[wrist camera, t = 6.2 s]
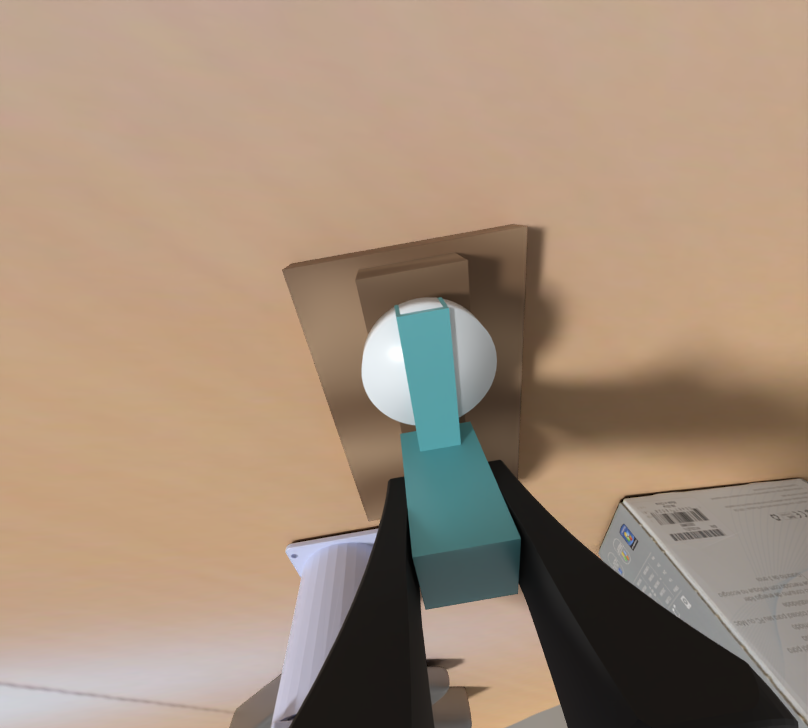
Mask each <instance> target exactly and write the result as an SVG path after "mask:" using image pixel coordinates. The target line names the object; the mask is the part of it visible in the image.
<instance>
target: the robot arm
mask: <svg viewBox="0 0 808 728" xmlns="http://www.w3.org/2000/svg"><path fill="white" fill-rule="evenodd" d="M488 464H489V466H490V468H491V471H492V473H493V475H494V477H495V480H496V482H497V484H498V487H499V489H500V491H501V494H502V496H503V498H504V501H505V503H506V505H507V508H508V510H509V512H510V514H511V517H512V519H513V521H514V524H515V526H516V528H517V531H518V533H519V535H520V538H521V546H520V565H519V585H520V587H521V589H522V592H523V594H524V597H525V599H526V602H527V604H528V607H529V610H530V613H531V616H532V619H533V622H534V625H535V628H536V631H537V634H538V637H539V640H540V643H541V646H542V649H543V652H544V655H545V658H546V661H547V664H548V667H549V670H550V673H551V676H552V679H553V682H554V685H555V688H556V692H557V695H558V698H559V701H560V704H561V707H562V710H563V713H564V716H565V720H566V723H567V726H568V728H799V726H798V721H797V720H796V718H795V717H794V716H793V715H792V714H791V712H790V711H789V710H788V709H787V707H786V706H785V705H784V704H783V703H782V701H781V700H780V699H779V698H778V696H777V695H776V694H775V693H774V692H773V691H772V689H771V688H770V687H769V686H768V685H767V684H766V683H765V682H764V680H763V679H762V678H761V677H760V676H759V675H758V674H757V673H756V672H755V671H754V670H753V669H752V668H751V667H750V665H749V664H748V663H747V662H745V661H744V660H742V659H741V658H739V657H738V656H736V655H735V654H733V653H731V652H730V651H728V650H727V649H725V648H724V647H722V646H721V645H719V644H717V643H716V642H714V641H713V640H711V639H710V638H708V637H707V636H705V635H704V634H702V633H701V632H699V631H698V630H696V629H695V628H693V627H692V626H690V625H689V624H687V623H686V622H684V621H683V620H681V619H680V618H679V617H677V616H676V615H674V614H673V613H671V612H670V611H668V610H667V609H666V608H664V607H663V606H661V605H660V604H658V603H657V602H656V601H654V600H653V599H652V598H650V597H649V596H648V595H646V594H645V593H644V592H642V591H641V590H640V589H638V588H637V587H636V586H634V585H633V584H632V583H630V582H629V581H628V580H626V579H625V578H623V577H622V576H621V575H620V574H618V573H617V572H616V571H614V570H613V569H612V568H611V567H610V566H608V565H607V564H606V563H605V562H603V561H602V560H601V559H600V558H598V557H597V556H596V555H595V554H594V553H592V552H591V551H590V550H589V549H588V548H587V547H585V546H584V545H583V544H582V543H581V542H580V541H579V540H577V539H576V538H575V537H574V536H573V535H572V534H571V533H570V532H569V531H568V530H567V529H565V528H564V527H563V526H562V525H561V524H560V523H559V522H558V521H557V520H556V519H555V518H554V517H553V516H552V515H551V514H550V513H549V512H548V511H547V510H546V509H545V508H544V507H543V506H542V505H541V504H540V503H539V502H538V501H537V500H536V499H535V498H534V497H533V496H532V495H531V494H530V492H529V491H528V490H527V489H526V488H525V487H524V486H523V485H522V484H521V483H520V481H519V480H518V479H517V478H516V477H515V476H514V474H513V473H512V472H511V471H510V470H509V468H508V467H507V466H506V465H505V463H504V462H503V461H502V460H495V461H489V462H488ZM286 554H287V556H288V557H289V559H290V560H291V562H292V564H293V565H294V567H295V569H296V570H297V572H298V574H299V575H300V577H301V582H300V587H299V592H298V597H297V602H296V607H295V612H294V617H293V621H292V626H291V631H290V636H289V641H288V646H287V651H286V655H285V660H284V665H283V670H282V675H281V680H280V685H279V690H278V694H277V699H276V704H275V709H274V714H273V719H272V724H271V728H435V727H434V719H433V711H432V703H431V695H430V687H429V679H428V671H427V662H426V654H425V646H424V637H423V629H422V619H421V605H420V585H419V581H418V577H417V574H416V570H415V566H414V562H413V558H412V548H411V538H410V528H409V518H408V508H407V498H406V488H405V478H404V476H403V477H398V478H392V479H390V480H389V481H388V486H387V493H386V499H385V504H384V508H383V513H382V517H381V520H380V524H379V528H378V529H372V530H366V531H360V532H355V533H349V534H343V535H337V536H332V537H326V538H320V539H315V540H309V541H303V542H297V543H292V544H289V545H288V546H287V548H286Z"/></svg>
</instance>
